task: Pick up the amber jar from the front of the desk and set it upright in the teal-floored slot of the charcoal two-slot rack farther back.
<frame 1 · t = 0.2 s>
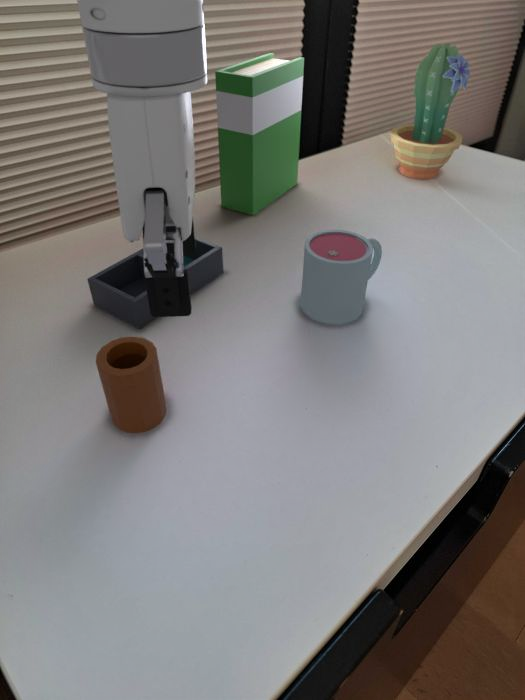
hand: (175, 280, 44), 20 cm above the table, tool pointing down, fingers open, 9 cm apart
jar: (139, 413, 59), on the table
potted cactus: (418, 171, 115), on the table
mug: (342, 301, 76), on the table
rack: (161, 289, 78), on the table
hardback book: (260, 195, 105), on the table
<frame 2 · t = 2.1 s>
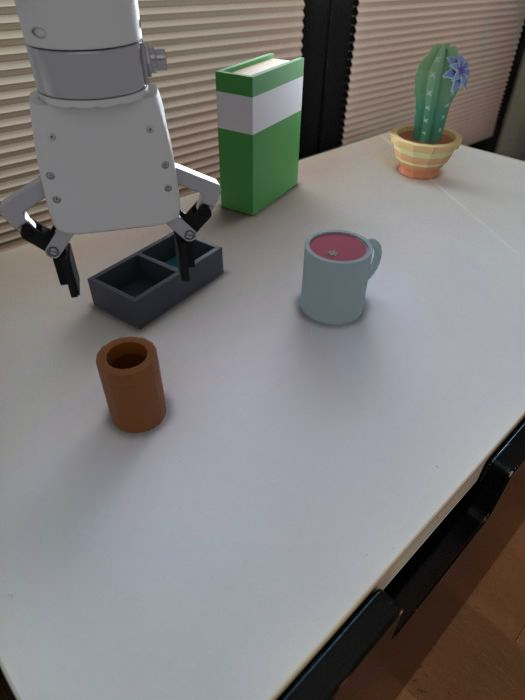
hand: (130, 281, 46), 19 cm above the table, tool pointing down, fingers open, 9 cm apart
nothing on the table moved.
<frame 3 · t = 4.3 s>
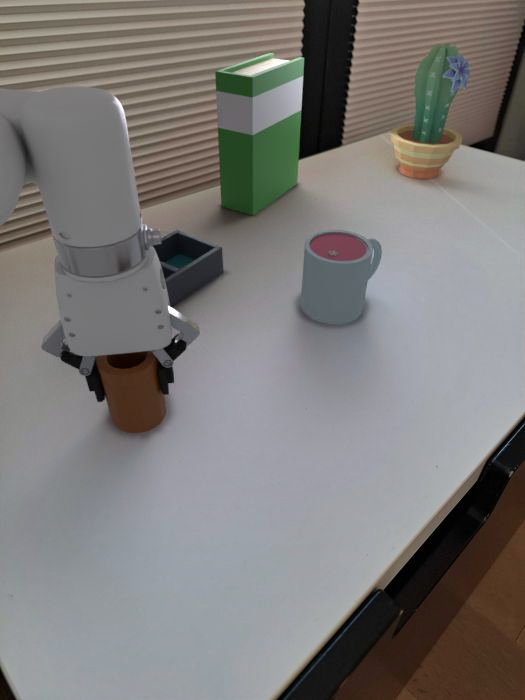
hand: (133, 388, 56), 4 cm above the table, tool pointing down, fingers closed on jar, 6 cm apart
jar: (139, 413, 59), on the table, touching gripper
everything else where it was.
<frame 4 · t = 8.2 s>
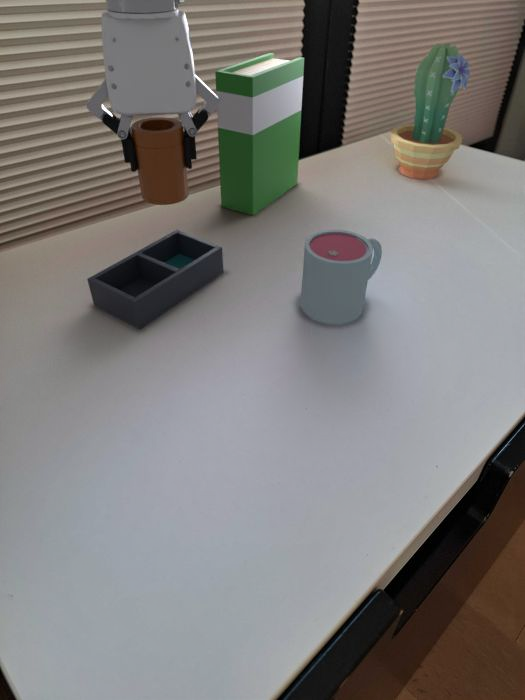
hand: (161, 165, 65), 19 cm above the table, tool pointing down, fingers closed on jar, 6 cm apart
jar: (165, 195, 68), point 15 cm above the table, touching gripper
everything else where it was.
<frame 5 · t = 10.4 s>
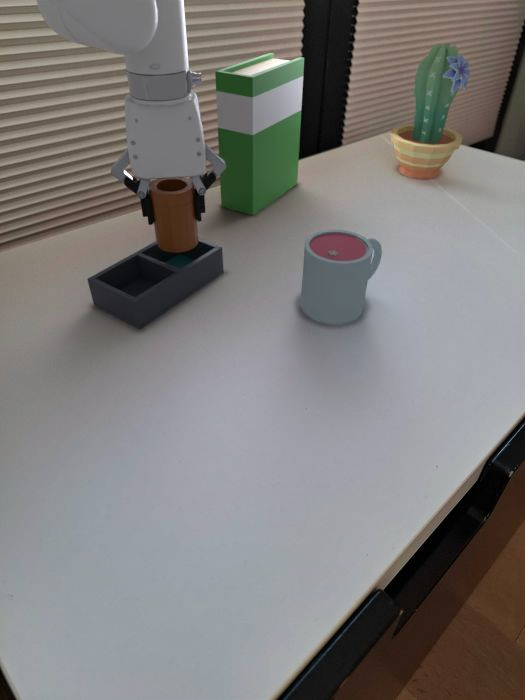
hand: (175, 217, 74), 10 cm above the table, tool pointing down, fingers closed on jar, 6 cm apart
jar: (177, 242, 77), point 6 cm above the table, touching gripper
everything else where it was.
when the fingers open (5 cm above the table, at t = 12.1 s): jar stays where it is, resting on rack.
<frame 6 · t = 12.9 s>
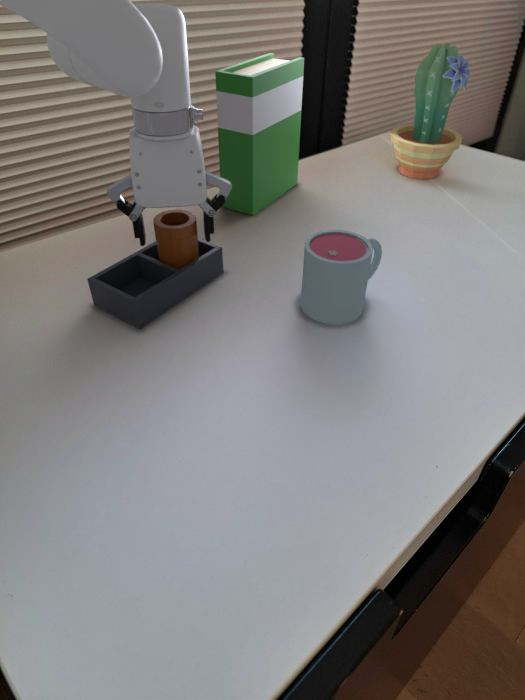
hand: (175, 239, 76), 7 cm above the table, tool pointing down, fingers open, 9 cm apart
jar: (180, 271, 80), point 1 cm above the table, touching rack
everything else where it was.
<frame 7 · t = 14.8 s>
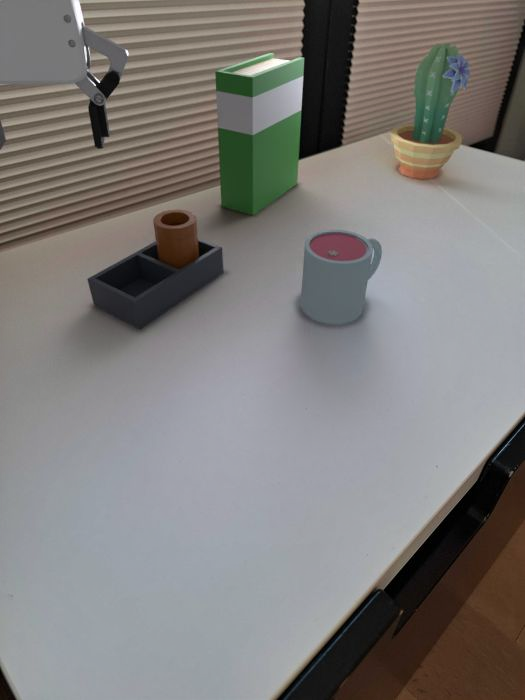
hand: (50, 145, 51), 26 cm above the table, tool pointing down, fingers open, 9 cm apart
nothing on the table moved.
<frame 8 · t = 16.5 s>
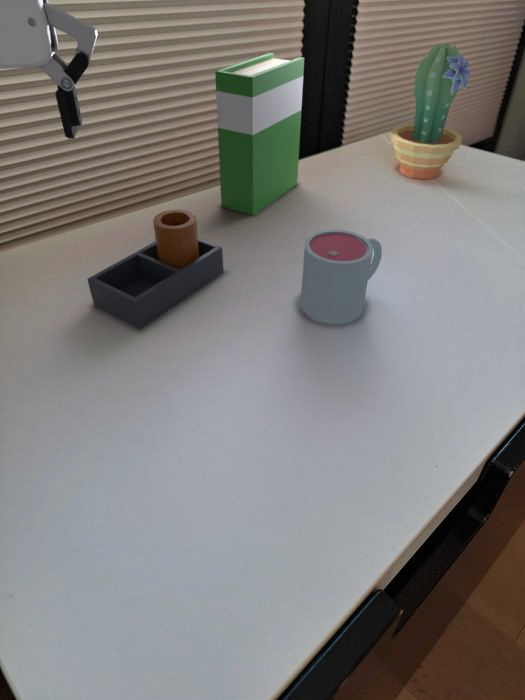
hand: (18, 136, 47), 28 cm above the table, tool pointing down, fingers open, 9 cm apart
nothing on the table moved.
at the end: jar 0.0 cm from the target spot in the rack, point 1.0 cm above the rack's base; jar tilted 0°; the gripper is holding nothing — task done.
